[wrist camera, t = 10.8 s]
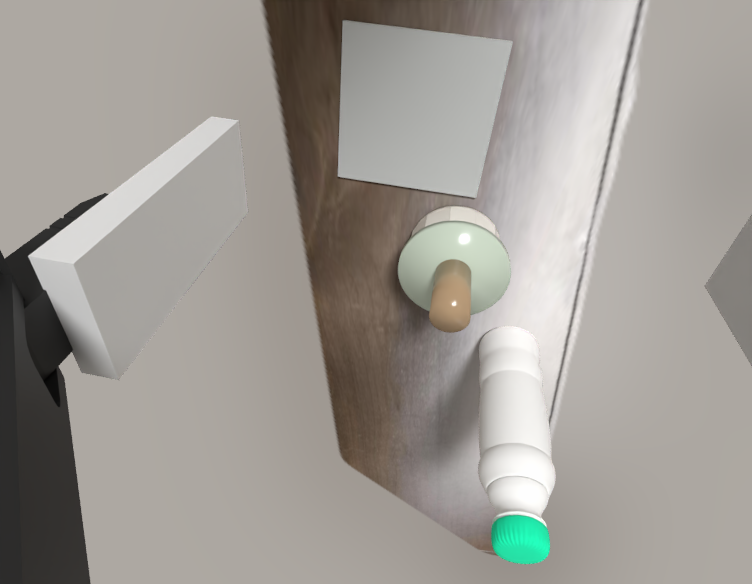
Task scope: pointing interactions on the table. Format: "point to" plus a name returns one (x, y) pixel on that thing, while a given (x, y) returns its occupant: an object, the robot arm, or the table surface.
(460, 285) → the lid
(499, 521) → the water bottle
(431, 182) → the mat
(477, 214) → the bowl
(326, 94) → the table surface
